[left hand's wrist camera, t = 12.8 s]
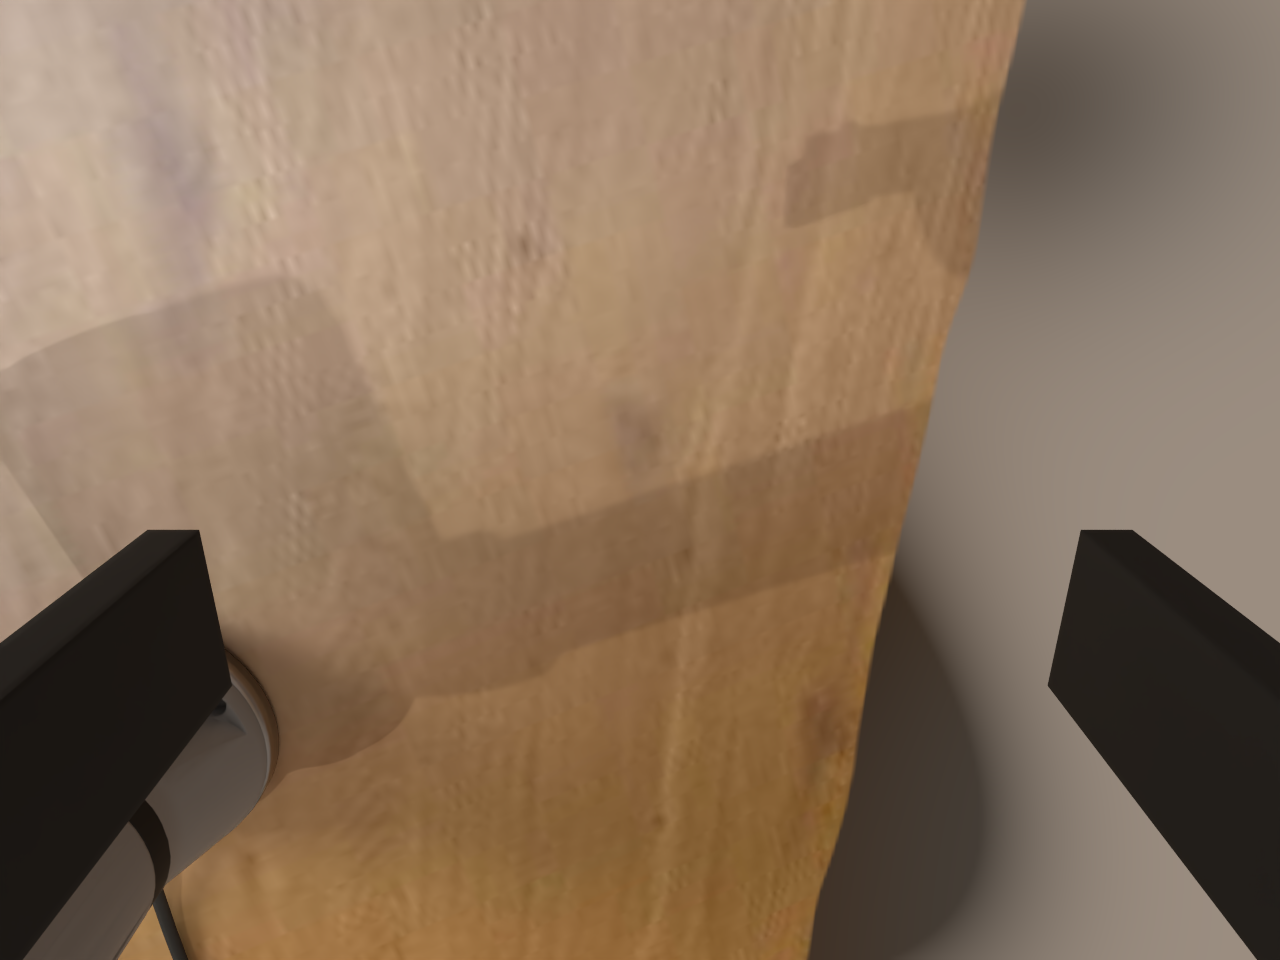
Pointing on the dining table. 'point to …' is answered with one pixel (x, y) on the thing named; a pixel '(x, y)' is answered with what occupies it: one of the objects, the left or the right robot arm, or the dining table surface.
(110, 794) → the left robot arm
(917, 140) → the dining table surface
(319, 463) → the dining table surface
